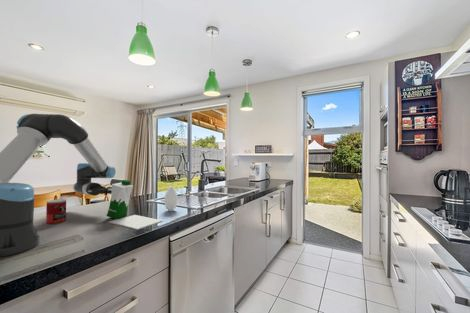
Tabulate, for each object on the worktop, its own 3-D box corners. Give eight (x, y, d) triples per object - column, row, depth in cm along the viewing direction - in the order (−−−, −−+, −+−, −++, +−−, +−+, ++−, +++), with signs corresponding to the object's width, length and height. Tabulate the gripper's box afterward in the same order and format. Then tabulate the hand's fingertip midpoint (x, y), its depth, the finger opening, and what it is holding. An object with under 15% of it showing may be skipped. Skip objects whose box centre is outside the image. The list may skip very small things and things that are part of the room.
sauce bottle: (173, 212, 128) (174, 183, 128) (162, 212, 129) (162, 182, 130) (179, 209, 136) (179, 181, 136) (168, 209, 137) (168, 181, 137)
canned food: (54, 224, 103) (55, 202, 103) (41, 223, 104) (42, 201, 105) (69, 220, 110) (70, 199, 110) (57, 219, 112) (58, 198, 112)
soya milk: (129, 216, 120) (135, 182, 119) (116, 220, 111) (123, 184, 110) (116, 212, 122) (123, 178, 121) (103, 216, 113) (110, 180, 112)
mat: (162, 221, 110) (162, 220, 110) (137, 229, 97) (137, 228, 97) (135, 215, 120) (135, 214, 120) (109, 222, 107) (109, 221, 107)
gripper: (103, 193, 135) (126, 196, 124) (80, 196, 123) (104, 200, 112) (103, 181, 135) (127, 184, 124) (80, 183, 123) (104, 186, 112)
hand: (116, 192), depth 118 cm, fingers closed
